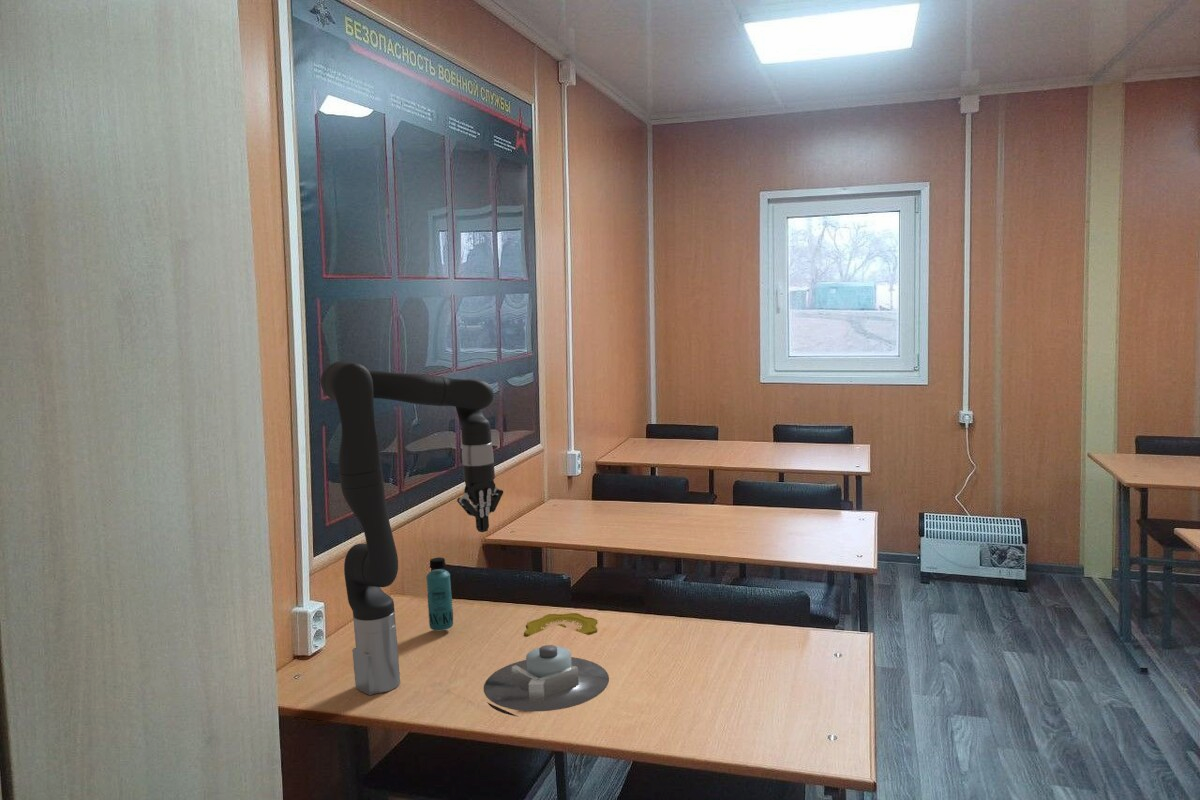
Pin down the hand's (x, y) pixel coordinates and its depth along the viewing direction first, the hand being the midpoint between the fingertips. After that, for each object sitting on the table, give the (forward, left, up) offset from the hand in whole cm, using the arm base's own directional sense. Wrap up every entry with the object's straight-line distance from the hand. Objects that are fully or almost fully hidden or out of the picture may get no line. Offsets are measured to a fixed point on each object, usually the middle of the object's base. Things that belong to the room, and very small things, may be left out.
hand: (483, 531), depth 217 cm
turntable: (-5, -26, -31) cm, 41 cm away
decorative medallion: (+22, -2, -32) cm, 39 cm away
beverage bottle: (+1, +22, -31) cm, 38 cm away
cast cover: (-4, -26, -30) cm, 40 cm away
